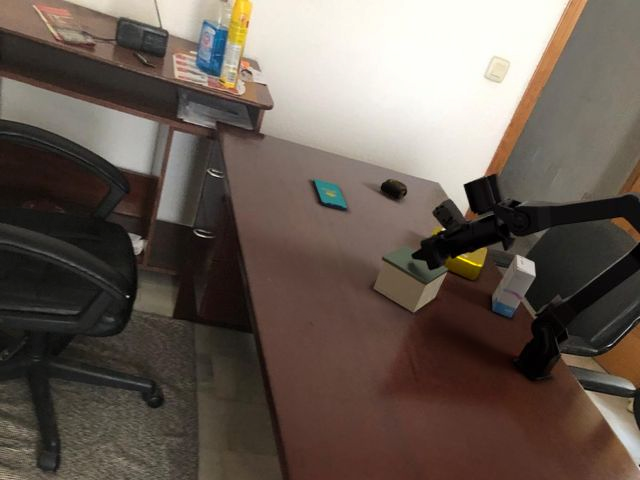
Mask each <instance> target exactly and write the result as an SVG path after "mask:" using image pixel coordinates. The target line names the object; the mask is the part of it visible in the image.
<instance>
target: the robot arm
mask: <svg viewBox="0 0 640 480" xmlns="http://www.w3.org/2000/svg"><path fill="white" fill-rule="evenodd" d="M462 187H463V189H464V192H465V193H464V194H465V195H466V200H467V203H468V206H469V210H470V212H471V213H473V215H476V214H477V216H478V217H479V216H482V215H485V214H487V213H490V212H492V214H488V215H486V216H483V217H481V218H478V219H472V218H471V219H467V220H466V218H465V216H464V214H463V212H462V211H461V210H460V208H459V207H458V206H457V204H456V203H455V202H454V200H453V199H451V198H447V199H446V200H443V201H442V202H441V203H440V204H439V205H437V206H436V207H435V208H434V209H433V210H432V211H431V213H432V216H433V217H434V218H435V219H436V220H437V222H438V223H439V224H440V225H441V227H443V228H445V229H446V230H441V231H439V232H438V233H437V234H436V235H435V234H434V235H432V236H430V235H429V236H428V237H426V238H425V237H424V239H422V240H420V248H419V249H417V250H416V252H414V253H413V254H411V256H412V259H415V260H421V261H426V263H427V266H428V269H429V270H430V271H431V270H434V269H437V268H440V267H441V266H443V265H444V264H445V263H446V261H447V259H449V258H450V257H451V259H454V258H456V257H458V256H459V255H462V254H466V253H473V252H475V251H477V250H478V249H481V248H484V247H486V248H487V247H490V246H493V245H496V244H499V243H501V244H502V249H503V251H504V252H508V251H509V250H510V249H512V248H513V246H514V244H515V242H516V240H518V237H520V238H523V237H527V236H530V235H533V234H537V233H540V232H543V231H546V230H547V229H551V228H554V227H557V226H565V225H572V224H579V223H587V222H588V223H589V222H595V221H604V220H611V219H619V218H622V219H624V220H625V221H627V222H628V223H629V224H630V225H631V227H632V228H633V229H634V230H635V231H636V232H637V233H638V234H639V235H640V192H639V191H636V190H634V191H633V190H630V191H628V192H625V193H618V194H612V195H606V196H598V197H592V198H585V199H579V200H572V201H571V200H570V201H564V202H553V201H547V200H527V201H521V200H520V201H519V200H517V199H514V198H511V197H506V198H505V195H504V193H503V188H502V185H501V178H500V174H499V172H495V173H492V174H488V175H487V176H486V175H483V176H481V177H479V178H476V179H473V180H470V181H468V182H466V183H463V184H462ZM638 271H640V240H639V241H637V243H635V245H634V246H633V247H632V248H631V249H630V250H629V251H628V252H626V253H625V254H624V255H622V256H621V257H619V258H618V259H617V260H616V261H615V262H612V264H611V265H610V266H607V268H606V269H604V270H603V271H602V272H600V273H599V274H598V275H596V276H595V277H594V278H592V279H591V280H590V281H589V282H587V283H586V284H584V285H583V286H582V287H581V288H579V289H578V290H577V291H576V292H574V293H573V294H571V295H570V296H567V297H565V298H563V299H562V297H561V295H560V294H557V295H556V296H555V297H554V298H553V299H552V300H551V301H550V302H548V303H546V304H543V306H542V307H540V309H538V310H537V312H536V313H535V314H534V317H535V318H534V319H533V320H532V321H531V324H530V332H531V335H532V336H533V337H531V339H530V341H527V342H526V344H525V345H524V347H523V348H522V350H521V351H520V353H519V354H518V357H517V358H515V359H513V361H512V362H513V364H514V365H516V367H518V369H520V370H521V371H522V372H523V373H524V374H525V375H526V376H527V377H528V378H529V379H530V380H532V381H540V380H546V379H552V378H553V374H552V373H551V372H552V371H553V369H554V368H555V367H556V365H557V363H558V362H559V361H560V359H561V358H562V356H563V354H562V353H561V352H562V351H563V349H564V348H565V347H566V345H567V344H568V343H569V341H570V336H569V332H568V327H569V326H570V325H571V324H572V323H573V322H574V320H575V319H576V318H577V317H578V316H579V315H580V314H581V313H583V312H584V311H586V310H587V309H589V308H590V307H592V305H593V304H595V303H597V301H599V300H600V299H602V298H603V297H605V296H606V295H607V294H609V293H610V292H611V291H612V290H614V289H615V288H617V287H618V286H620V285H621V284H622V283H624V282H625V281H626V280H627V279H630V277H632V276H633V275H635V274H636V273H637V272H638Z"/></svg>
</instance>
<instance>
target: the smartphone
mask: <svg viewBox="0 0 640 480" xmlns="http://www.w3.org/2000/svg"><path fill="white" fill-rule="evenodd" d="M312 183H313V185H314V188H315V191H316V194H317V196H318V199H319V202H320V204H321V205H323V206H324V207H325V206H327V207H330V208H333V209H337V210H342V211H347V210H348V205H347V203H346V201H345V198H344V195H343V194H342V191H341V189H340V187H339V185H338V184H336V183H332V182H328V181H326V180H321V179H317V178H314V179H313V181H312Z"/></svg>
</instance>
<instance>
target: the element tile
mask: <svg viewBox="0 0 640 480" xmlns="http://www.w3.org/2000/svg"><path fill="white" fill-rule="evenodd" d="M441 230H446V229H445V228H443V226H442V225H441V226H440V225H437V226H434V227H433V229H432V231H431V233H430V235H429V237H430V236H432V235H434V234H435V235H436V234H437V233H438V232H439V231H441ZM487 253H488V249H487V247H484V248H481V249H478V250H477V251H475V252H473V253H466V254H462V255H459V256H458V257H456V258H454V259H451V257H450V258H449V259H447V261H446V263H445V264H444V265H443V266H444V267H446V268H448V271H447V272H450V273H453V274H454V275H455V274H456V275H458V276H460V277H462V278H464V279H467V280H469V281H475V280H477V278H478V277H479V274H480V273H481V271H482V268H483V266H484V263H485V260H486V256H487Z"/></svg>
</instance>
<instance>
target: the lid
mask: <svg viewBox="0 0 640 480" xmlns="http://www.w3.org/2000/svg"><path fill="white" fill-rule="evenodd" d="M416 251H417V250H416V249H414V248H413V247H412V246H410V245H408V244H404V245H402V246H400V247H398V248H396V249H393V250H392V251H390V252H388V253H387V254H384V255H383V256H382V257H381V260H382V261H383V262H384V261H385V262H387V263H388V264H390V265H392V266H394V267H395V268H397V269H399V270H400V271H402V272H404V273H406V274H407V275H409V276H411V277H412V278H414V279H416V280H417V281H419V282H421V283H423V284H424V285H428V284H429V283H431V282H432V281H434V280H435V279H437V278H438V277H440V276H442V275H443V274H445V273H446V272H447V273H448V272H449V271H448V268H446V267H444V266H441V267H440V268H437V269H434V270H431V271H430V270H429V269H428V266H427V263H426V261H421V260H415V259H412V256H411V254H413V253H414V252H416ZM447 273H446V274H447Z"/></svg>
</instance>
